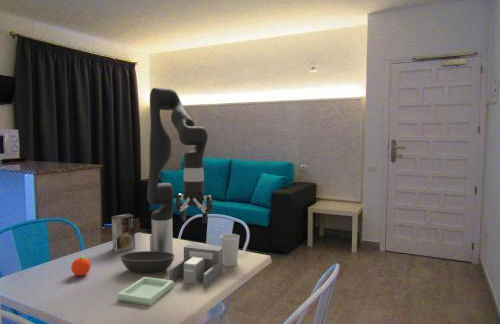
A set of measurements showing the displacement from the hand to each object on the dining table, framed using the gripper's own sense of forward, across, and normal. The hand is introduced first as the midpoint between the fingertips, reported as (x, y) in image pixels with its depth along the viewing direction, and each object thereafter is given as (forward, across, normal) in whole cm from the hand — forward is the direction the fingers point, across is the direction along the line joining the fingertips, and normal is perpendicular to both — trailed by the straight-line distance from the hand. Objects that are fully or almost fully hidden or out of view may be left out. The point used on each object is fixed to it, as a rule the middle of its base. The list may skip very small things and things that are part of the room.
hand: (194, 221), depth 142 cm
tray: (+22, -10, -17) cm, 30 cm away
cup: (+23, +7, +20) cm, 31 cm away
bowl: (+23, -22, +2) cm, 32 cm away
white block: (+23, 0, 0) cm, 23 cm away
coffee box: (+23, -49, +23) cm, 59 cm away
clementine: (+23, -44, -10) cm, 51 cm away
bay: (+22, 0, +1) cm, 23 cm away
